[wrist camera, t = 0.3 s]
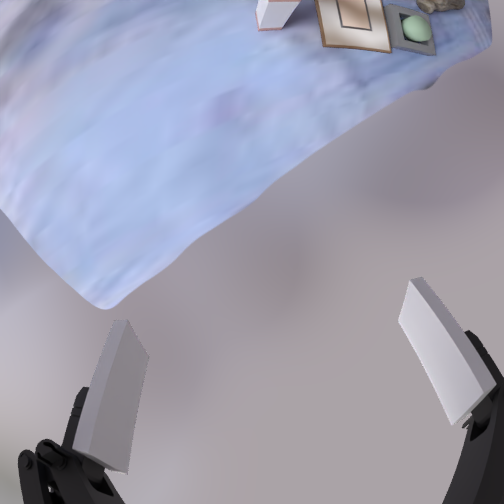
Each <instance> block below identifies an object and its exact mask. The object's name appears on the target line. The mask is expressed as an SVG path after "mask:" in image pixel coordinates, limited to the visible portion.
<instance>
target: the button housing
mask: <svg viewBox="0 0 504 504" xmlns="http://www.w3.org/2000/svg"><path fill="white" fill-rule="evenodd" d="M384 12H385V16H386V21H387V26H388V31H389V37H390V43H391V48H395V49H401V50H405V51H410V52H415V53H419V54H423V55H427V56H431V55H436V53H435V47H434V41H433V35H431V38H430V39H429V40H426V41H420V43H421V44H419V43H415V42H411V41H407V40H404V35H403V30H402V25H401V20H400V17H401V18H408V17H411V16H414V15H417V16H420V17H422V18H423V19H424V20H426V22H427V23H428V24H429V26H430V28H431V25H430V21H429V16H428V15H426V14H423V13H420V12H417V11H414V10H411V9H407V8H404V7H400V6H397V5H393V4H389V5H387V6H385V7H384ZM431 32H432V30H431Z"/></svg>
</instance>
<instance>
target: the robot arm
mask: <svg viewBox="0 0 504 504" xmlns="http://www.w3.org/2000/svg"><path fill="white" fill-rule="evenodd" d="M398 322H399V324H400V325H401V327H402V329H403V330H404V332H405V334H406V336H407V337H408V339H409V341H410V343H411V345H412V346H413V348H414V350H415V352H416V354H417V355H418V357H419V359H420V361H421V363H422V365H423V367H424V369H425V371H426V373H427V375H428V377H429V379H430V381H431V383H432V385H433V387H434V389H435V391H436V393H437V395H438V397H439V399H440V401H441V404H442V406H443V408H444V410H445V412H446V414H447V417H448V419H449V421H450V424H451V425H453V424H455V423H457V422H459V421H460V420H462V419H464V418H465V417H466V416H467V415H468V414H469V413H470V412H471V413H472V416H471V417H470V418H469V419H468V420H467V421H466V422H465V423H464V424H463V426H462V428H465V427H466V426H467V425H468V424H469V426H468V427H467V429H468V431H467V434H466V438H465V442H464V446H463V449H462V452H461V456H460V459H459V462H458V465H457V468H456V471H455V474H454V476H453V479H452V482H451V484H450V487H449V489H448V492H447V494H446V496H445V499H444V501H443V503H442V504H504V377H503V376H502V374H501V373H500V371H499V369H498V368H497V366H496V364H495V363H494V361H493V360H492V358H491V357H490V355H489V354H488V352H487V350H486V349H485V347H483V344H482V343H481V341H480V340H479V338H478V337H477V336H476V335H475V334H473V333H472V332H470V330H468V331H466V332H464V331H463V330H462V329H461V327H460V326H459V324H458V323H457V322H456V320H455V319H454V318H453V316H452V315H451V313H450V312H449V311H448V309H447V308H446V307H445V305H444V304H443V303H442V301H441V300H440V299H439V297H438V296H437V295H436V294H435V292H434V291H433V290H432V289H431V287H430V286H429V285H428V284H427V282H426V281H425V280H424V279H423V278H422V277H420V278H416V279H411V280H409V284H408V288H407V292H406V296H405V299H404V304H403V307H402V310H401V313H400V316H399V319H398ZM148 360H149V355H148V354H147V352H146V350H145V349H144V347H143V345H142V344H141V342H140V340H139V339H138V337H137V335H136V334H135V332H134V330H133V328H132V326H131V325H130V323H129V321H128V320H115V321H114V323H113V325H112V328H111V330H110V332H109V335H108V337H107V340H106V343H105V345H104V348H103V350H102V353H101V356H100V358H99V361H98V364H97V367H96V370H95V373H94V375H93V378H92V381H91V384H90V387H83V388H82V389H81V390H80V392H79V393H78V395H77V396H76V399H75V402H74V408H72V412H71V416H70V419H69V422H68V425H67V429H66V432H65V436H64V440H63V444H62V446H60V445H58V444H57V443H55V442H54V441H52V440H49V439H45V440H42V441H41V442H39V443H38V445H37V447H36V451H35V453H33V452H32V451H30V450H24V451H22V452H21V453H20V455H19V458H18V468H19V477H20V484H21V490H22V495H23V501H24V504H125V503H124V501H123V500H122V498H121V497H120V495H119V494H118V492H117V491H116V489H115V488H114V486H113V484H112V482H111V481H110V479H109V477H108V476H107V474H106V473H105V472H104V469H105V468H107V469H109V470H111V471H113V472H117V473H122V474H128V467H129V460H130V453H131V446H132V440H133V434H134V428H135V423H136V417H137V412H138V407H139V401H140V397H141V391H142V387H143V382H144V378H145V373H146V368H147V364H148ZM48 487H50V488H51V492H49V489H48Z"/></svg>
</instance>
